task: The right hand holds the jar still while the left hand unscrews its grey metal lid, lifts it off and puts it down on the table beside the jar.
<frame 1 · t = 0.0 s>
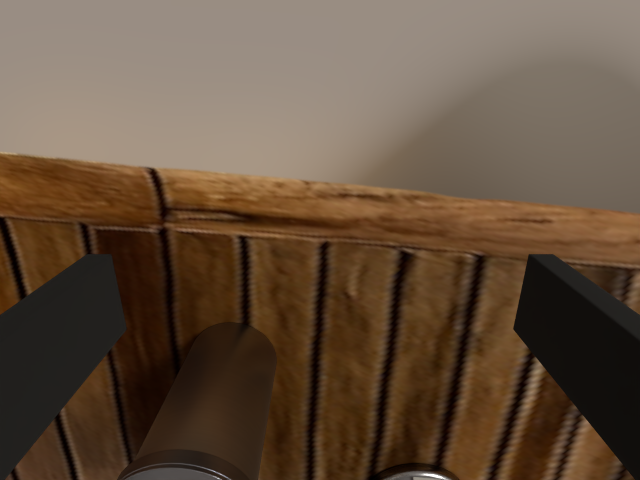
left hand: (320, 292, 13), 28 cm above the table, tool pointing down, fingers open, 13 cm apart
jar: (233, 358, 47), on the table
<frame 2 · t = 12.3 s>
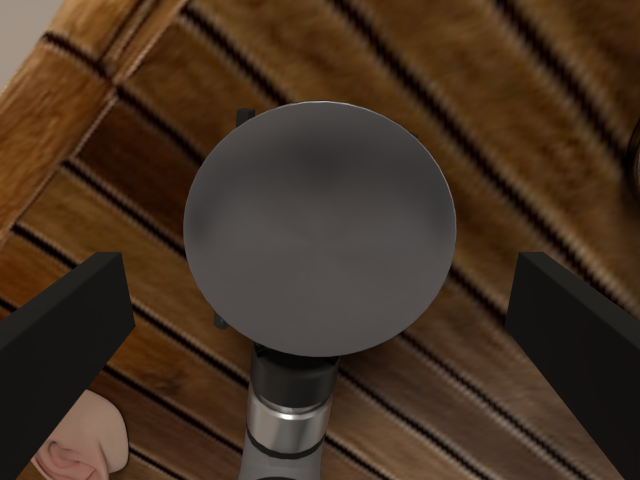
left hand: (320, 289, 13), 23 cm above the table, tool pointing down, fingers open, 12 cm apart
anatomical model: (80, 427, 45), on the table
lid: (319, 242, 17), point 19 cm above the table, screwed on, not yet turned
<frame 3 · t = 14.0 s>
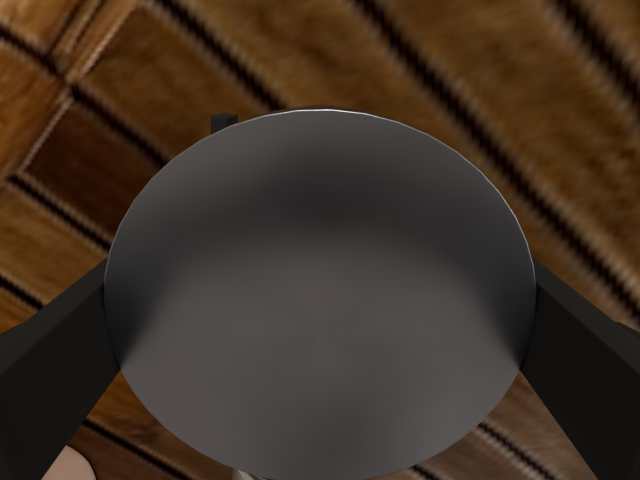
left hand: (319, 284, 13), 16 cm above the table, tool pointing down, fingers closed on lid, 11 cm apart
anatomical model: (44, 478, 39), on the table
lid: (319, 326, 11), point 19 cm above the table, screwed on, not yet turned, touching left hand
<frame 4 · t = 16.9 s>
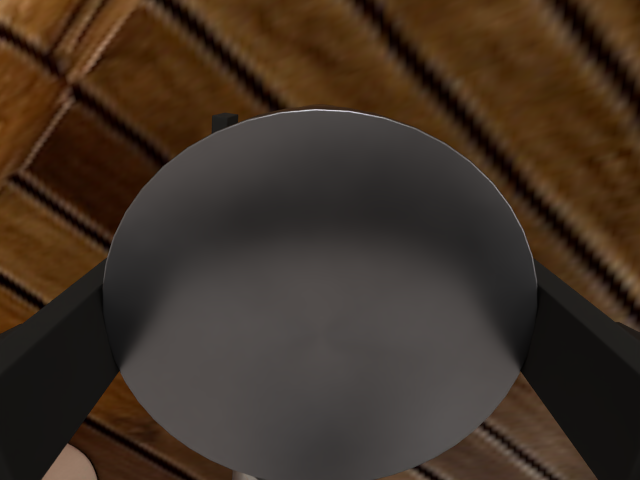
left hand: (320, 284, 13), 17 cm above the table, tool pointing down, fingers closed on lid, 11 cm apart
anatomical model: (45, 476, 39), on the table
lid: (320, 327, 11), point 19 cm above the table, turned 86° so far, risen 0.3 cm, still on its thread, touching left hand
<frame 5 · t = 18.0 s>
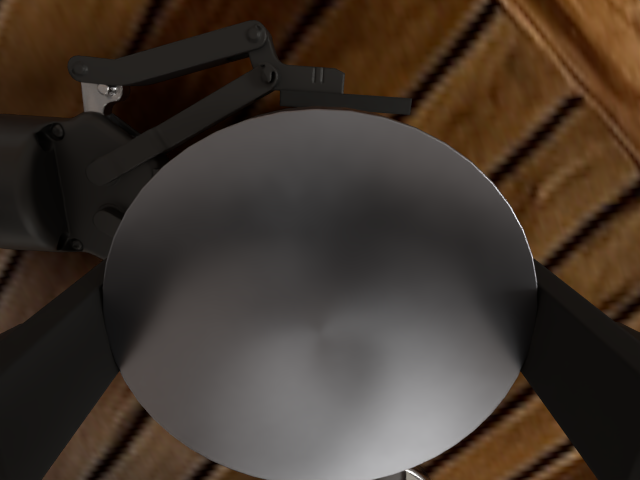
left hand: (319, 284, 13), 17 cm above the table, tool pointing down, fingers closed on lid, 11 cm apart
right hand: (391, 206, 23), fingers closed on jar, 10 cm apart
lid: (320, 327, 11), point 19 cm above the table, off its thread, touching left hand
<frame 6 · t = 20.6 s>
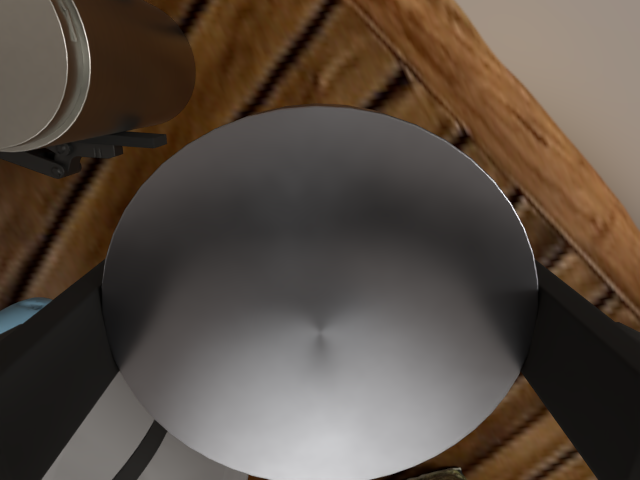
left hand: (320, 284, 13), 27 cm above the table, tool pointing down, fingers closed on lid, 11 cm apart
lid: (320, 325, 11), point 29 cm above the table, off its thread, touching left hand
jar: (137, 65, 35), on the table, touching right hand
when the left hand's fingers open (0 cm above the table, at t = 24.1 s): lid drops 1 cm, point 1 cm above the table.
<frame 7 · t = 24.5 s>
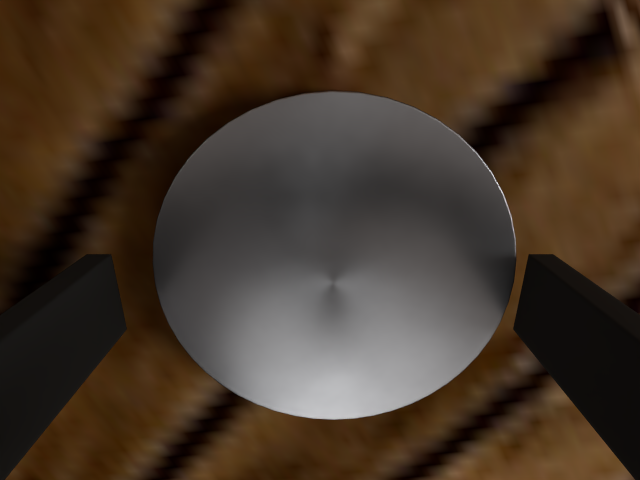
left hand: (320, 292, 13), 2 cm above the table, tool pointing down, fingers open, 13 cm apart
lid: (332, 278, 13), point 1 cm above the table, off its thread
when the right hand's fingers open (7 cm above the table, at t = 25.1 s): jar stays where it is, on the table.
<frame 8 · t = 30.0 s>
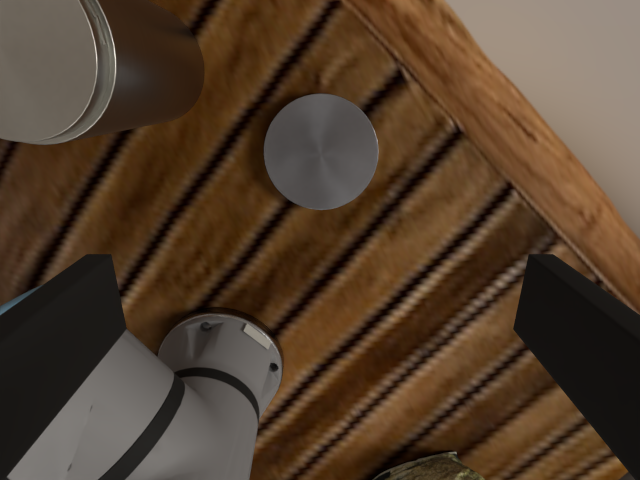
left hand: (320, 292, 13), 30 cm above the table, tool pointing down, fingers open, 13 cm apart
fossil: (415, 476, 57), on the table
lid: (320, 154, 39), point 1 cm above the table, off its thread
jar: (150, 66, 37), on the table
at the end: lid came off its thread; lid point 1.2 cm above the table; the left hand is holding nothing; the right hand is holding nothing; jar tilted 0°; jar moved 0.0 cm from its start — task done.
